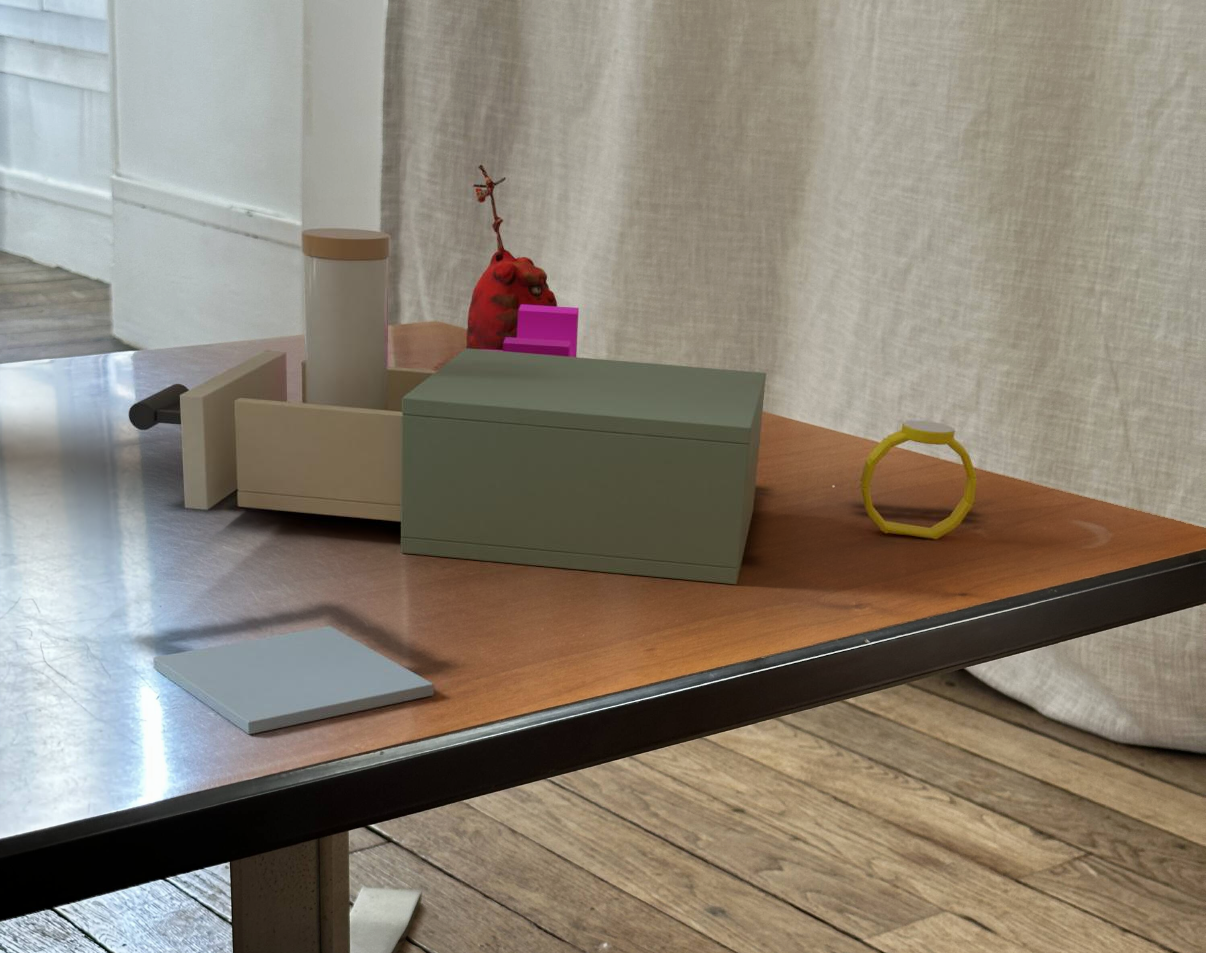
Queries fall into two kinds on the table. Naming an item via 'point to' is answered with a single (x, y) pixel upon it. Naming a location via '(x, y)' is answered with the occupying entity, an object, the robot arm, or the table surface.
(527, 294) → the red clay folk toy
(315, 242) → the spice jar
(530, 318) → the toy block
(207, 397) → the drawer
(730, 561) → the cabinet
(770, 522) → the table surface
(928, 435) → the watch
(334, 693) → the mat
